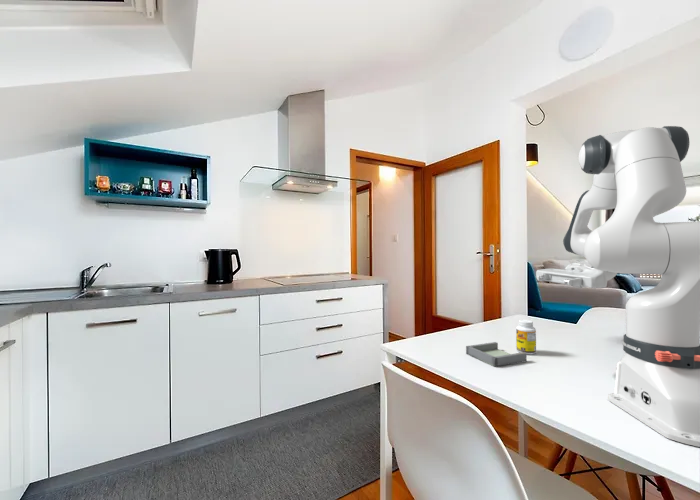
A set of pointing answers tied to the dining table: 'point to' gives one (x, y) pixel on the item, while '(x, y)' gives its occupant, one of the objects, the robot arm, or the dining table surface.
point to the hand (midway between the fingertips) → (552, 280)
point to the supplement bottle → (526, 337)
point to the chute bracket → (494, 354)
